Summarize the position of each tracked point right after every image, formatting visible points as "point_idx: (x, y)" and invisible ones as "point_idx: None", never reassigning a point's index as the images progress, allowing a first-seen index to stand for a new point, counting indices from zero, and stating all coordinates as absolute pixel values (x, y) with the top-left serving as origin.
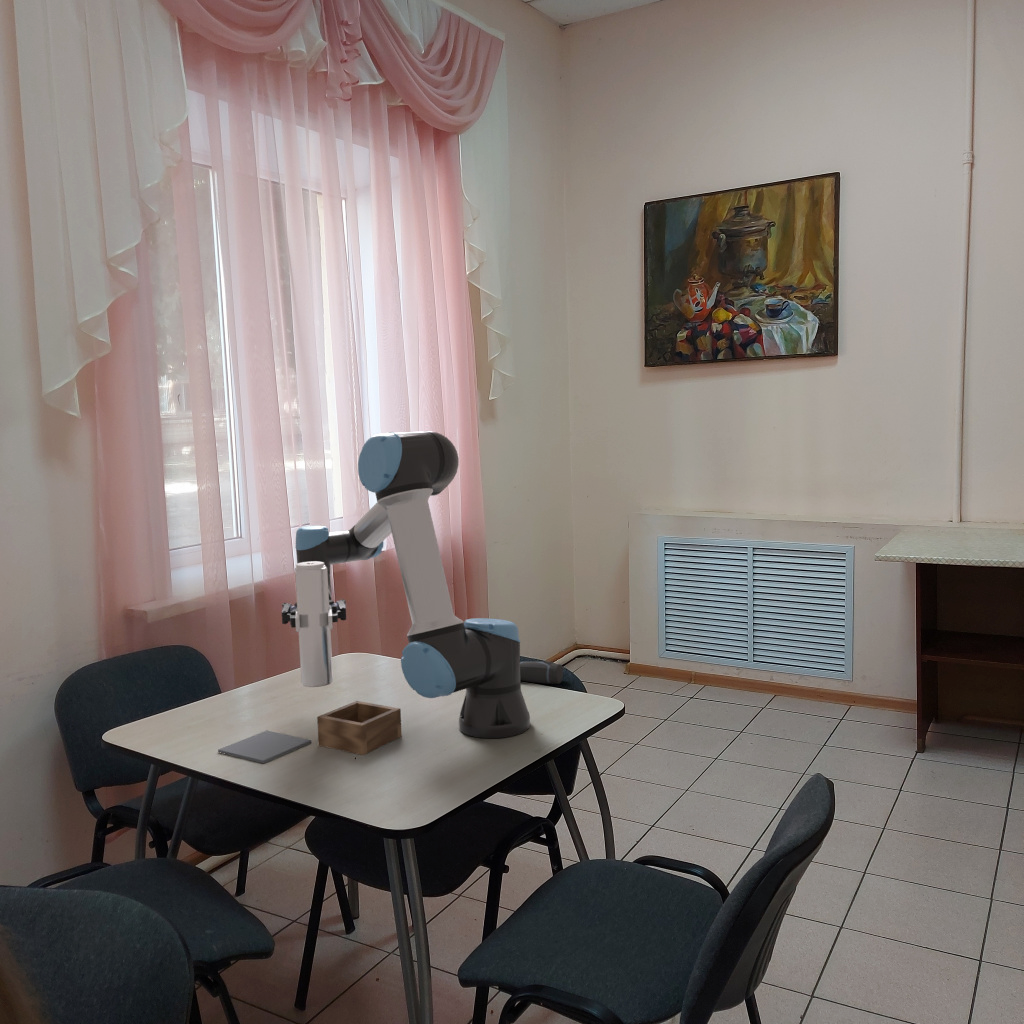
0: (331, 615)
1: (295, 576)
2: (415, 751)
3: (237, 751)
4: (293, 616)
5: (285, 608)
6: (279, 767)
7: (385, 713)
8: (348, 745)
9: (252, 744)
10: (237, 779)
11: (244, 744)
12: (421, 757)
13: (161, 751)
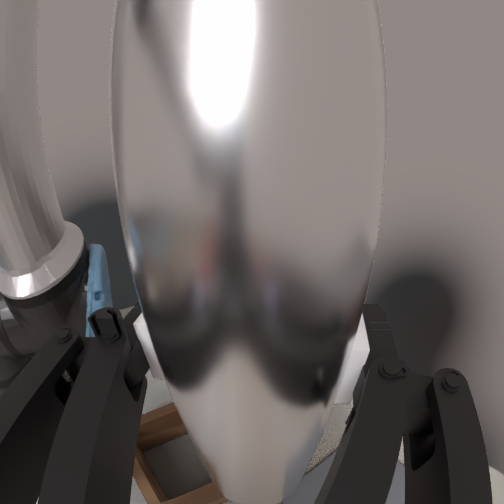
0: None
1: (384, 54)
2: (146, 392)
3: (400, 472)
4: (373, 331)
5: (474, 488)
6: (332, 415)
7: (144, 419)
8: None
9: None
10: None
11: (393, 500)
12: (151, 374)
13: (495, 485)
